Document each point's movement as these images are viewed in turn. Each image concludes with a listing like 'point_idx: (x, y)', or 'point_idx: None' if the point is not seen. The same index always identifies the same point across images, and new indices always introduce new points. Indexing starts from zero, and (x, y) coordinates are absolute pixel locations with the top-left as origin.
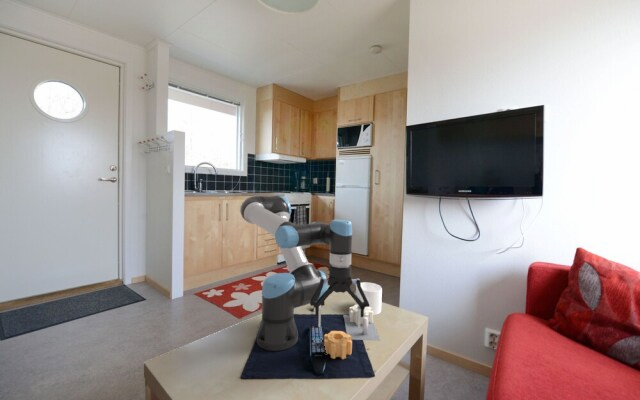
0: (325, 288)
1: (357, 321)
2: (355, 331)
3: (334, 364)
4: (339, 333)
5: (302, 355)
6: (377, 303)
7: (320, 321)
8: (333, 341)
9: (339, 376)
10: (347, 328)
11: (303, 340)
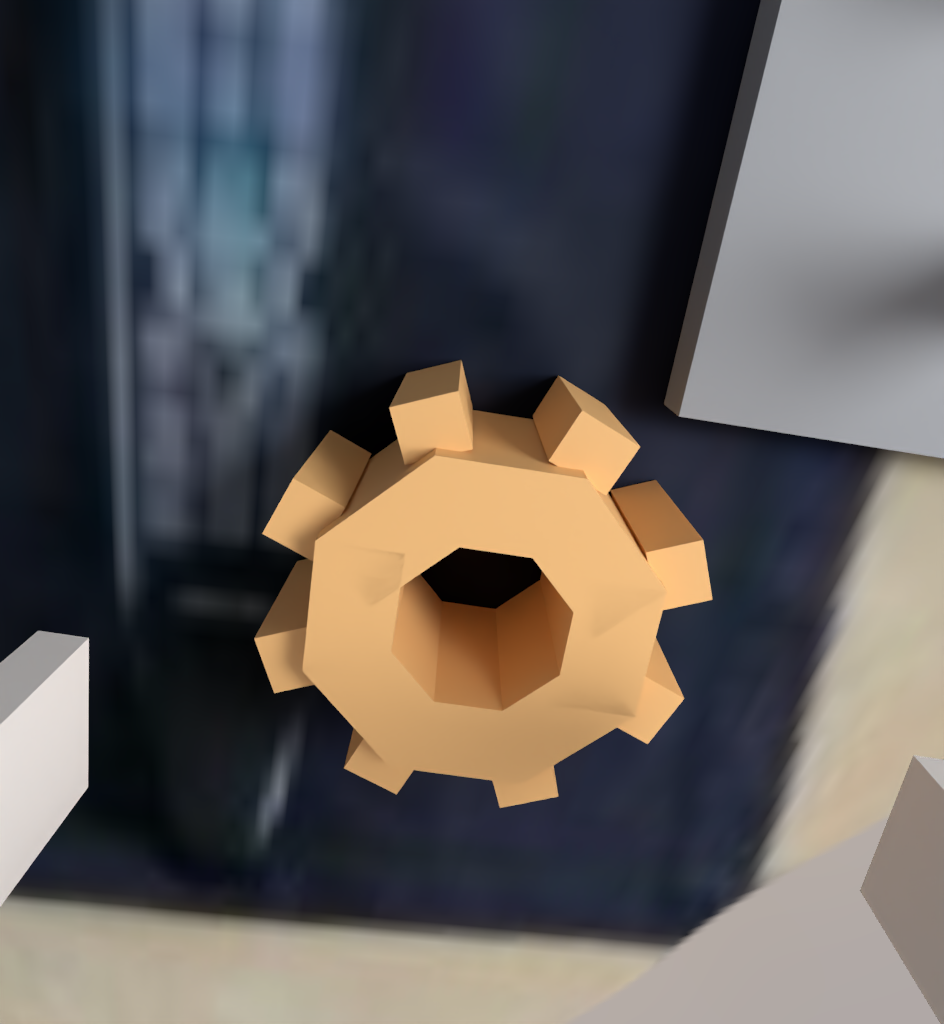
0: None
1: (939, 861)
2: (902, 187)
3: None
4: (529, 551)
5: (27, 591)
6: None
7: (16, 876)
8: (380, 749)
9: (407, 914)
10: (800, 53)
11: (7, 251)
